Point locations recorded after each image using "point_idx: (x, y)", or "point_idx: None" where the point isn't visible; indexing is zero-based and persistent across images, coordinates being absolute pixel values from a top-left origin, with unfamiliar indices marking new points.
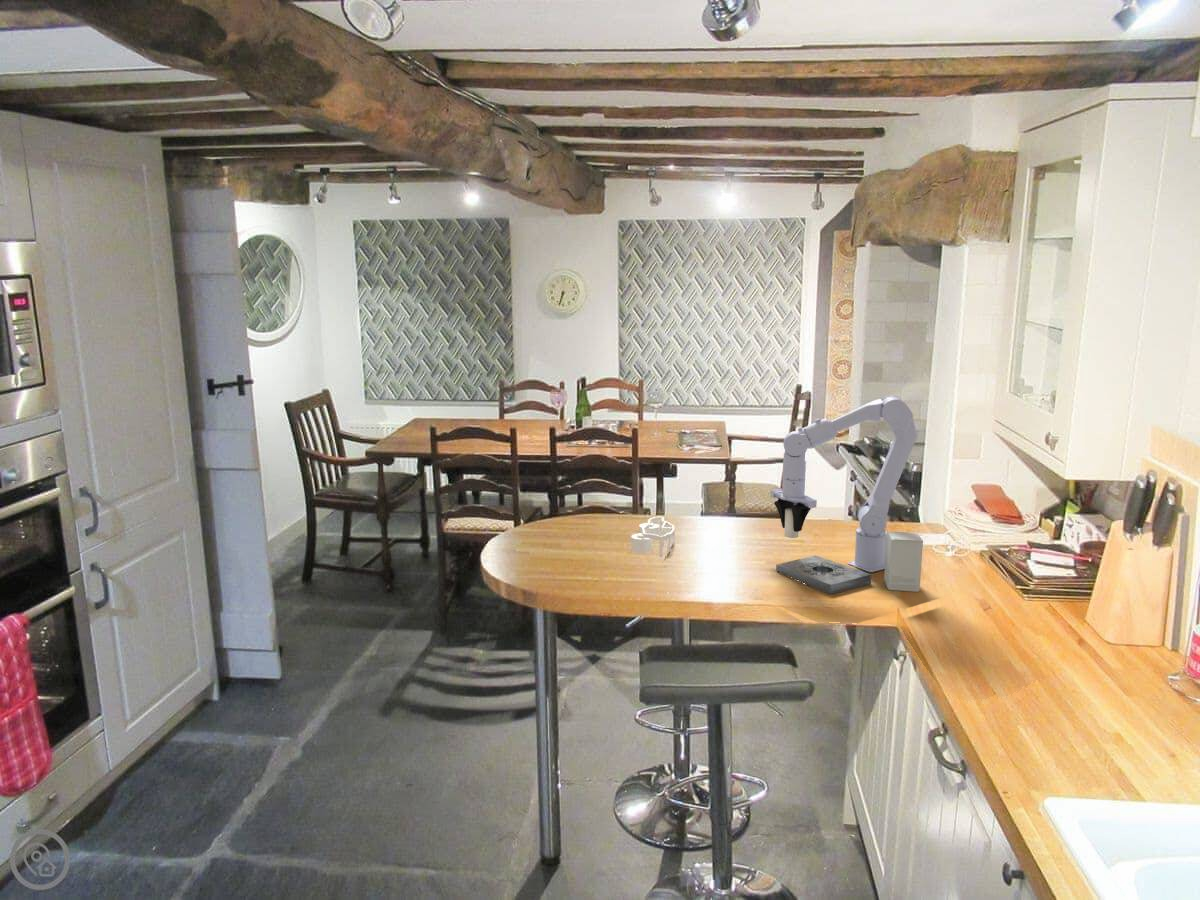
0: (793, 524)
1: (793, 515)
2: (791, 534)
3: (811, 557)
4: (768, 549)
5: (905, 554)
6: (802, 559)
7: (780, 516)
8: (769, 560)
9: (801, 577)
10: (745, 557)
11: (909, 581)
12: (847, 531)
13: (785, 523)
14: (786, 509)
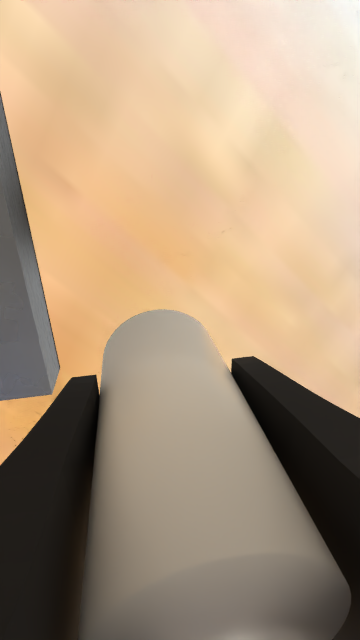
0: (79, 412)
1: (18, 528)
2: (115, 343)
3: (25, 355)
4: (336, 320)
5: None
6: (10, 288)
7: (333, 412)
8: (219, 211)
9: None
10: (333, 124)
11: None
12: None
13: (204, 375)
14: (315, 581)
